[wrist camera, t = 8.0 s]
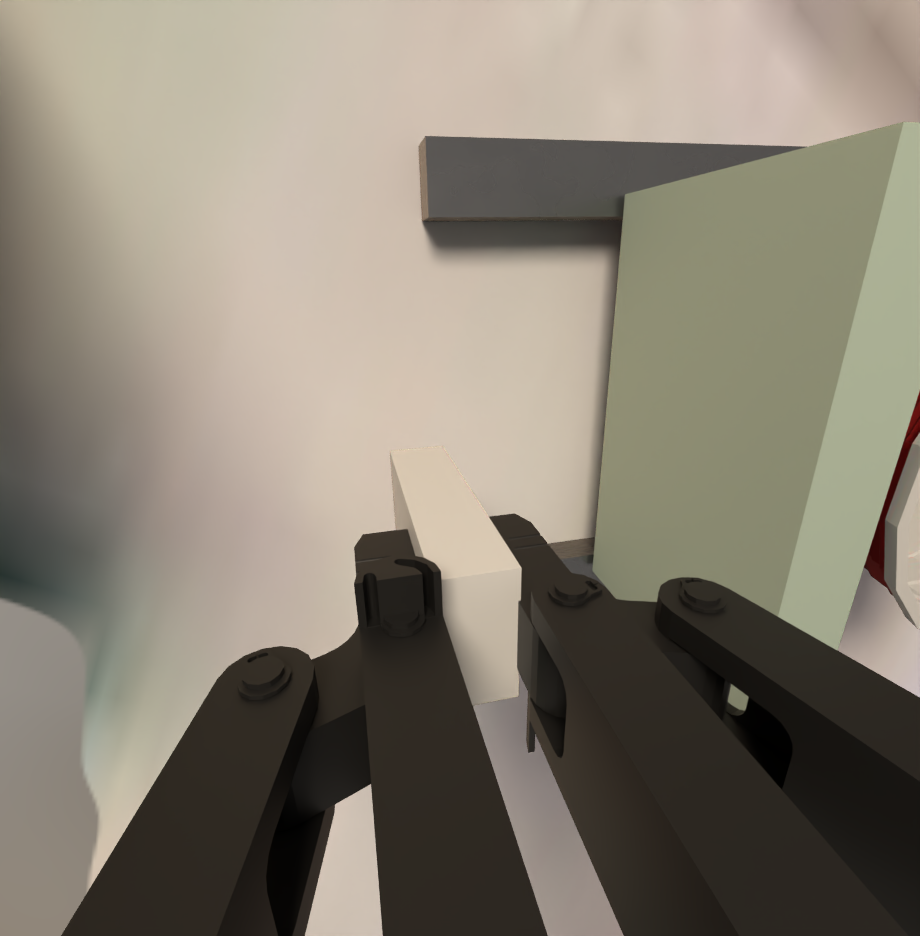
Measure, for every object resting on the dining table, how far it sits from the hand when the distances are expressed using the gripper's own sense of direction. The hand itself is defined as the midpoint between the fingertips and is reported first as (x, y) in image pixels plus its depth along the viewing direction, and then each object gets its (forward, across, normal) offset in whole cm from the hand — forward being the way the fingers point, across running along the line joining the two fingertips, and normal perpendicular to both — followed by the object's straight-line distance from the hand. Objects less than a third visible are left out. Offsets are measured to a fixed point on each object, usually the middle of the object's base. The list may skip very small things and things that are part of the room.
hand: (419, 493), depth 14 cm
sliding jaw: (+6, -10, 0) cm, 12 cm away
